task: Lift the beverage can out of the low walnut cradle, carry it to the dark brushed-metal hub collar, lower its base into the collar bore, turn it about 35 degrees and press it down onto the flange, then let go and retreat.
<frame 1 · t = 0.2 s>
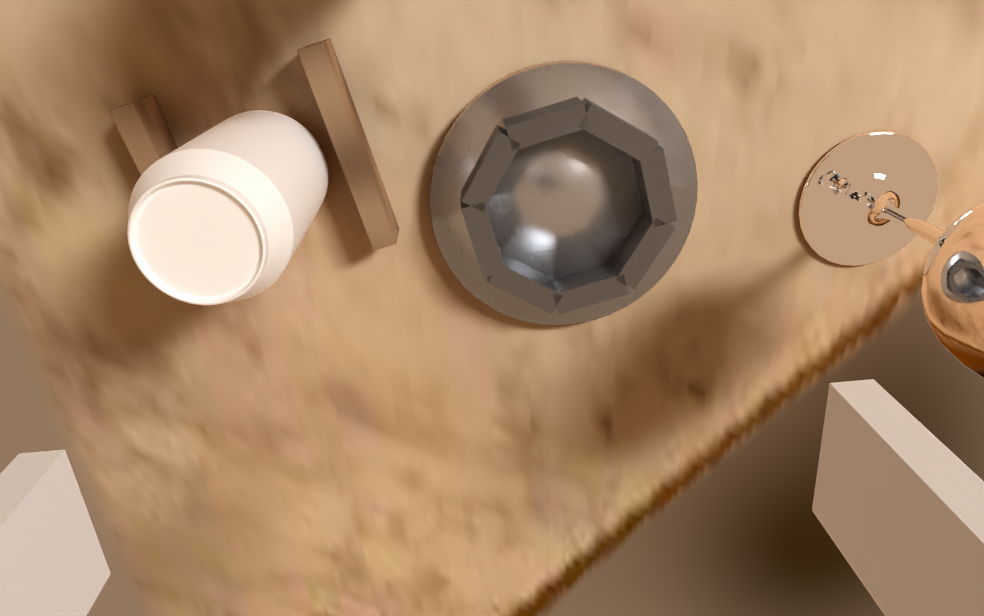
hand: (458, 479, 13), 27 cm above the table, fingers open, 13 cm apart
walnut cradle: (270, 168, 37), on the table
beverage can: (271, 167, 38), on the table
wineglass: (863, 198, 40), on the table
hub collar: (561, 198, 39), on the table
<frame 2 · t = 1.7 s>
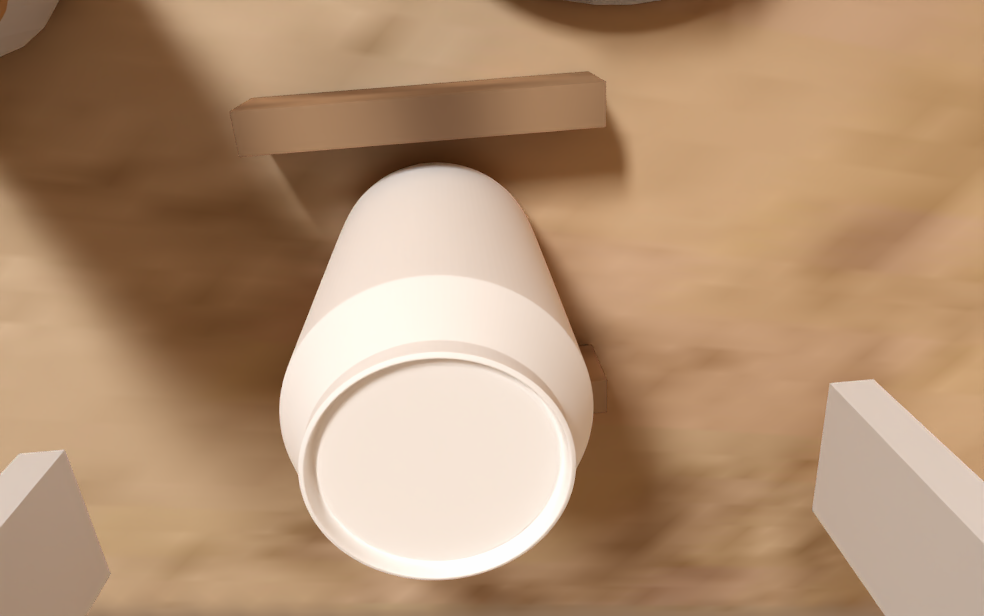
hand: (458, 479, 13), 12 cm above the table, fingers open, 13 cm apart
walnut cradle: (438, 249, 24), on the table
beverage can: (438, 247, 24), on the table
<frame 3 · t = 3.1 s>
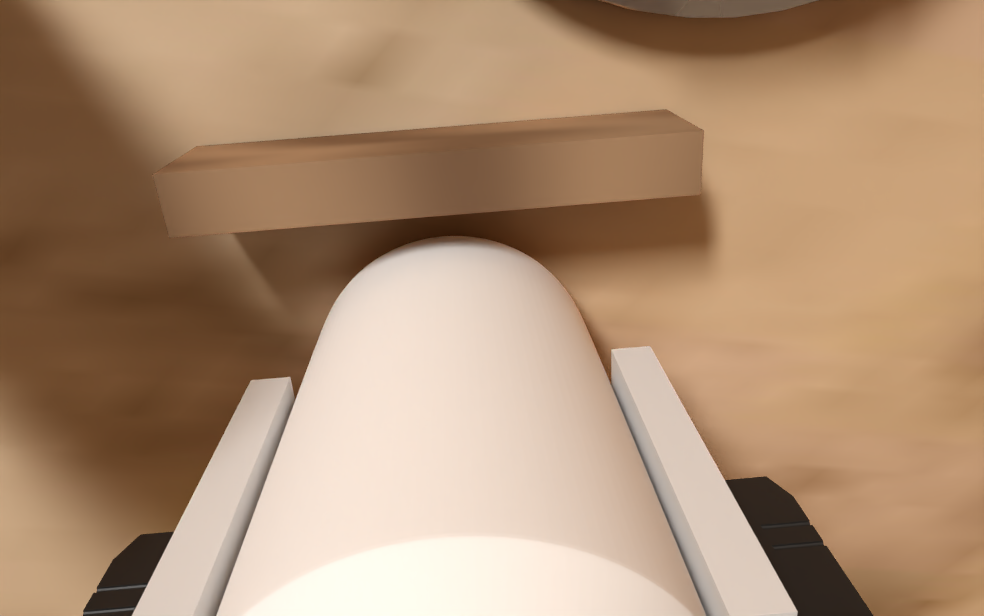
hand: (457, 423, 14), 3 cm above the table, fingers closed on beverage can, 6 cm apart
walnut cradle: (454, 345, 18), on the table
beverage can: (454, 342, 18), on the table, touching gripper
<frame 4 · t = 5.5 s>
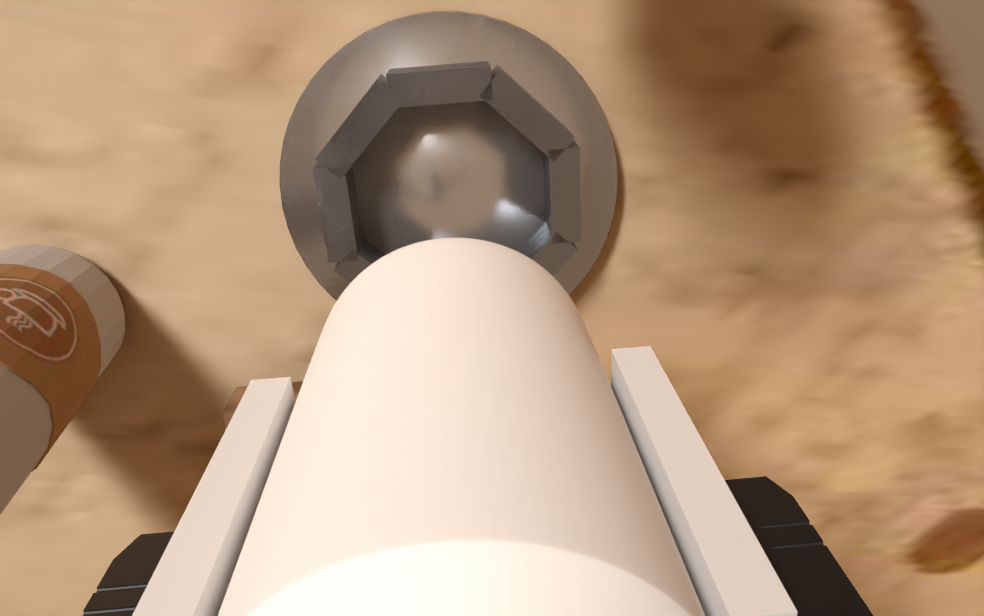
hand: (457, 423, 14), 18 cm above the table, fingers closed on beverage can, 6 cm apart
walnut cradle: (358, 467, 37), on the table
beverage can: (455, 343, 18), point 15 cm above the table, touching gripper
coffee cup: (58, 306, 33), on the table
hub collar: (450, 187, 31), on the table
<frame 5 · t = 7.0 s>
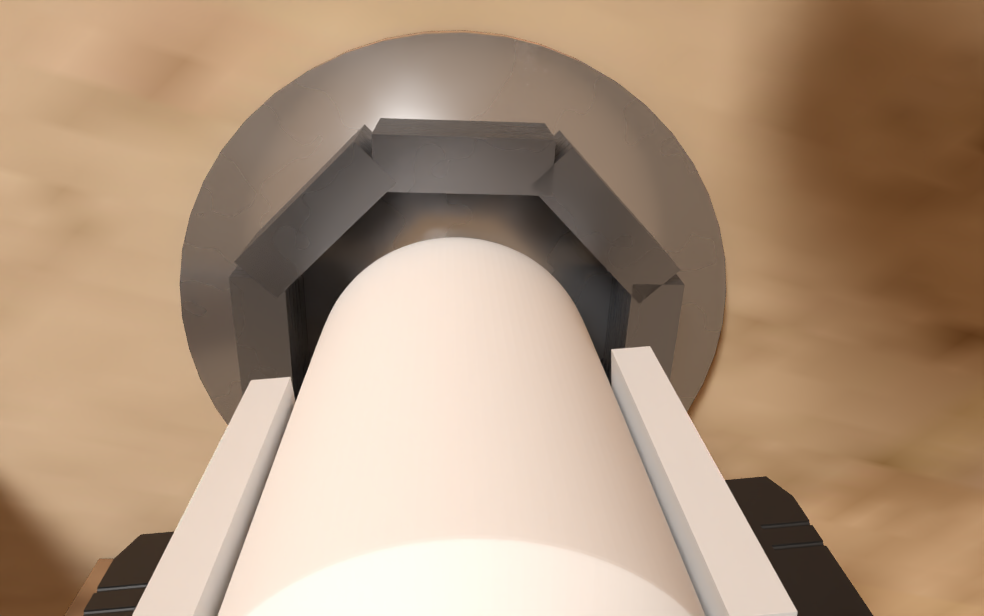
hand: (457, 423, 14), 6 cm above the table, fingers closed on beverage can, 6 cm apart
beverage can: (455, 343, 18), point 2 cm above the table, touching gripper
hub collar: (458, 305, 20), on the table
when the fingers open (5 cm above the table, at t = 8.2 s): beverage can stays where it is, resting on hub collar.
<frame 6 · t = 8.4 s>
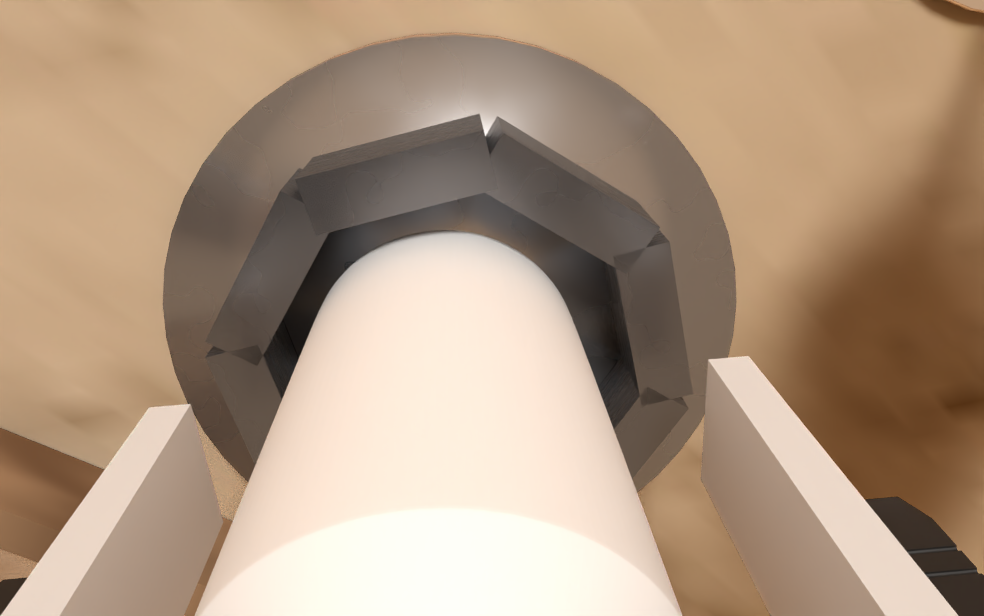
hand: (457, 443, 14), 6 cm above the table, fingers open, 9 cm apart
walnut cradle: (50, 596, 22), on the table
beverage can: (445, 334, 18), point 1 cm above the table, touching hub collar
hub collar: (455, 320, 19), on the table
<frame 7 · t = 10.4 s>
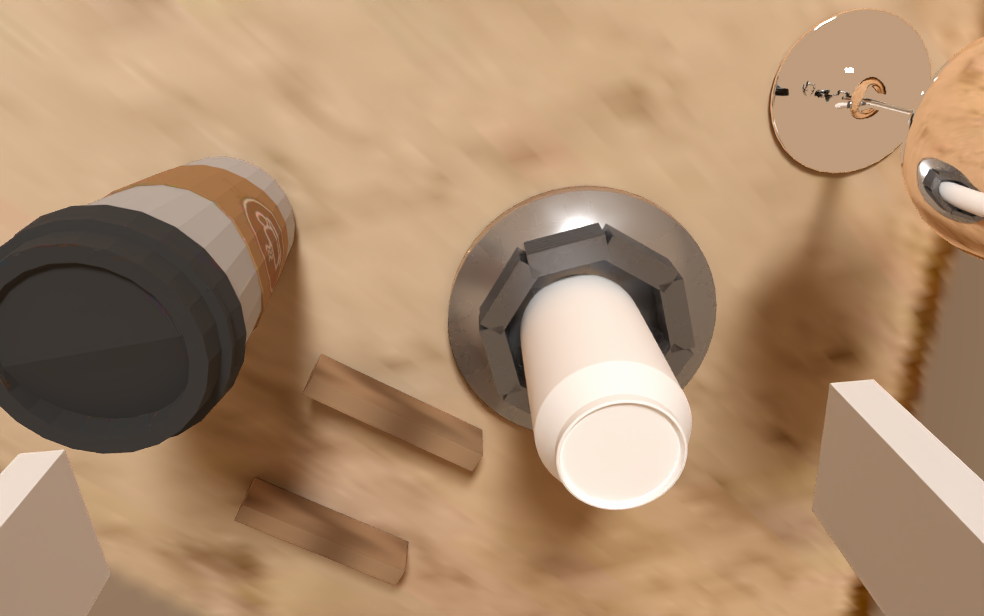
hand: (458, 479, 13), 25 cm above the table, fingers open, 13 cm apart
walnut cradle: (362, 461, 42), on the table
beverage can: (577, 321, 38), point 1 cm above the table, touching hub collar
coffee cup: (234, 216, 36), on the table
wineglass: (846, 93, 35), on the table
hub collar: (579, 314, 39), on the table
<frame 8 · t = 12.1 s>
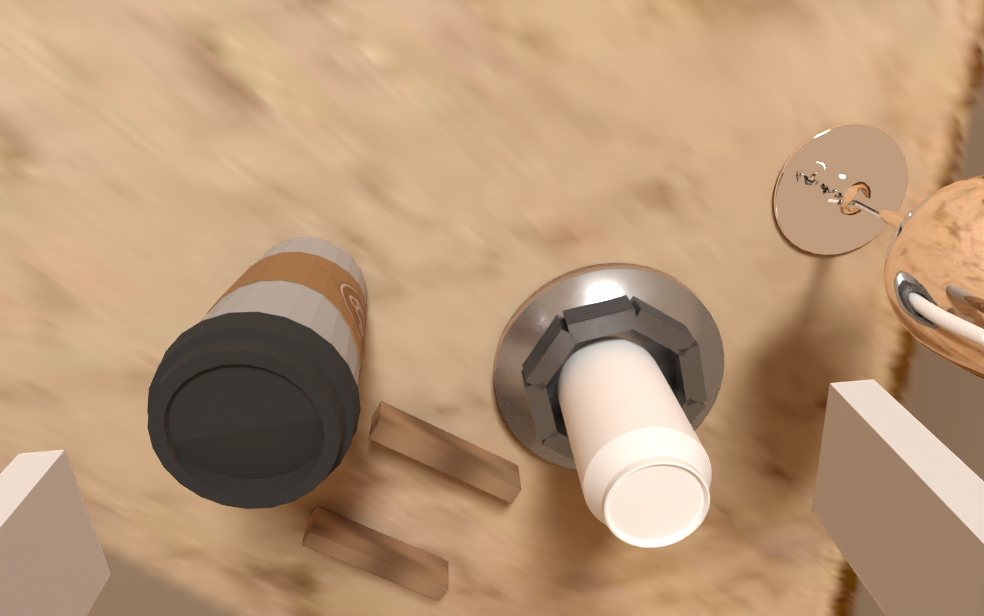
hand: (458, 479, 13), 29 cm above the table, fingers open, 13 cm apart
walnut cradle: (412, 492, 48), on the table
beverage can: (604, 375, 44), point 1 cm above the table, touching hub collar
coffee cup: (312, 285, 42), on the table
wineglass: (837, 189, 41), on the table
hub collar: (606, 369, 45), on the table
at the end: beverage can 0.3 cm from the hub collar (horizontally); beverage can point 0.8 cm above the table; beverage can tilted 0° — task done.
